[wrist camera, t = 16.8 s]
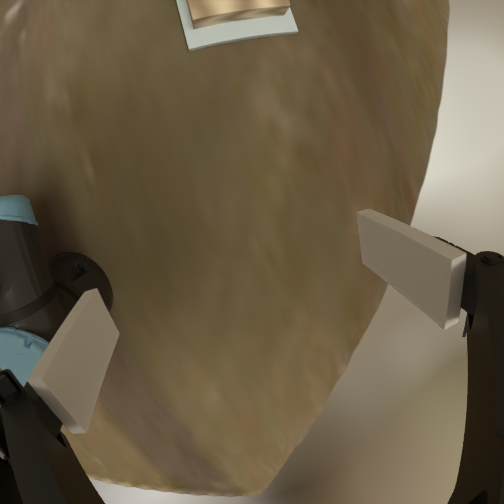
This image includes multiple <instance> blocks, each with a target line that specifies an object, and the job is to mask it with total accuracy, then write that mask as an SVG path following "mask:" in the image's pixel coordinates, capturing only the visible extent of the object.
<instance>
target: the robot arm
mask: <svg viewBox="0 0 504 504" xmlns="http://www.w3.org/2000/svg"><path fill="white" fill-rule="evenodd" d="M356 213H357V220H358V228H359V236H360V245H361V254H362V263H363V264H364V265H366V266H367V267H368V268H369V269H371V270H372V271H373V272H375V273H376V274H377V275H378V276H380V277H381V278H382V279H383V280H385V281H386V282H387V283H388V284H390V285H391V286H392V287H393V288H395V289H396V290H397V291H399V292H400V293H401V294H402V295H403V296H405V297H406V298H407V299H408V300H409V301H411V302H412V303H413V304H414V305H415V306H417V307H418V308H419V309H420V310H421V311H423V312H424V313H425V314H426V315H427V316H429V317H430V318H431V319H432V320H433V321H434V322H436V323H437V324H438V325H439V326H440V327H441V328H442V329H444V330H445V329H447V328H449V327H450V326H452V325H454V324H455V323H457V322H458V321H459V315H460V310H461V308H462V309H464V310H465V311H466V312H467V317H466V322H465V328H464V332H463V337H465V335H466V333H467V350H468V394H467V412H466V424H465V433H464V441H463V449H462V455H461V461H460V467H459V473H458V477H457V482H456V486H455V489H454V492H453V493H452V495H451V497H450V499H449V502H448V504H504V257H503V256H502V255H500V254H499V253H496V252H490V251H484V252H480V253H477V254H476V255H474V254H472V253H470V252H468V251H466V250H464V249H462V248H460V247H458V246H455V245H454V244H452V243H448V242H447V241H446V240H443V239H441V238H439V237H434V236H431V235H428V234H426V233H424V232H422V231H420V230H418V229H415V228H413V227H411V226H409V225H407V224H404V223H402V222H400V221H397V220H395V219H393V218H391V217H388V216H386V215H383V214H381V213H379V212H376V211H374V210H371V209H367V210H363V211H359V212H356ZM38 226H39V225H38V222H37V221H36V220H35V216H34V213H33V209H32V205H31V202H30V200H29V199H28V198H27V197H25V196H24V195H19V194H16V195H7V196H1V197H0V368H1V369H2V371H0V405H1V407H0V451H1V452H2V453H3V454H4V459H2V458H1V457H0V504H105V503H104V502H103V500H102V498H101V497H100V495H99V494H98V492H97V491H96V489H95V488H94V486H93V485H92V483H91V481H90V480H89V478H88V476H87V475H86V473H85V471H84V470H83V468H82V466H81V464H80V463H79V461H78V459H77V457H76V455H75V454H74V452H73V450H72V448H71V446H70V444H69V442H68V440H67V438H66V436H65V435H64V434H63V433H62V432H61V431H60V429H61V426H62V424H63V425H64V426H65V427H66V428H67V429H68V430H69V431H70V432H71V433H72V434H76V433H87V432H88V428H89V424H90V421H91V418H92V414H93V411H94V407H95V404H96V401H97V398H98V395H99V391H100V388H101V385H102V382H103V379H104V376H105V373H106V370H107V367H108V365H109V362H110V359H111V356H112V353H113V351H114V348H115V345H116V342H117V340H118V337H119V334H120V333H119V331H118V329H117V328H116V326H115V324H114V322H113V320H112V318H111V316H110V314H109V312H110V309H111V306H112V289H111V286H110V283H109V281H108V279H107V277H106V275H105V273H104V272H103V271H102V269H101V268H100V267H99V266H98V265H97V264H96V263H95V262H93V261H92V260H91V259H89V258H87V257H85V256H83V255H81V254H77V253H63V254H60V255H57V256H56V257H54V258H53V259H52V260H51V261H49V262H48V260H47V257H46V254H45V251H44V247H43V244H42V241H41V237H40V233H39V230H38ZM22 385H23V386H24V388H23V386H22Z"/></svg>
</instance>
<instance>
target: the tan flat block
mask: <svg viewBox="0 0 504 504" xmlns="http://www.w3.org/2000/svg"><path fill="white" fill-rule="evenodd" d="M186 2H187V6H188V10H189V14H190V17H191V21H192V25H193V28H194V29H198V28H203V27H207V26H212V25H217V24H222V23H228V22H233V21H240V20H246V19H254V18H262V17H271V16H282V15H285V13H286V12H287V10H288V9H289V7H290V3H289V0H186Z"/></svg>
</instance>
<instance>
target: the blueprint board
mask: <svg viewBox="0 0 504 504" xmlns="http://www.w3.org/2000/svg"><path fill="white" fill-rule="evenodd" d="M176 2H177V6H178V10H179V14H180V18H181V21H182V25H183V29H184V33H185V37H186V41H187V45H188V48H189V52H190V51H194V50H198V49H202V48H206V47H211V46H215V45H220V44H225V43H230V42H235V41H241V40H247V39H253V38H260V37H268V36H276V35H286V34H296V33H297V32H298V29H297V26H296V23H295V21H294V18H293V15H292V12H291V9H290V7H289V9H288V10H287V12H286V13H285V15H282V16H271V17H262V18H254V19H246V20H240V21H233V22H228V23H222V24H217V25H212V26H207V27H203V28H198V29H194V28H193V25H192V21H191V17H190V14H189V10H188V6H187V2H186V0H176Z"/></svg>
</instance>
